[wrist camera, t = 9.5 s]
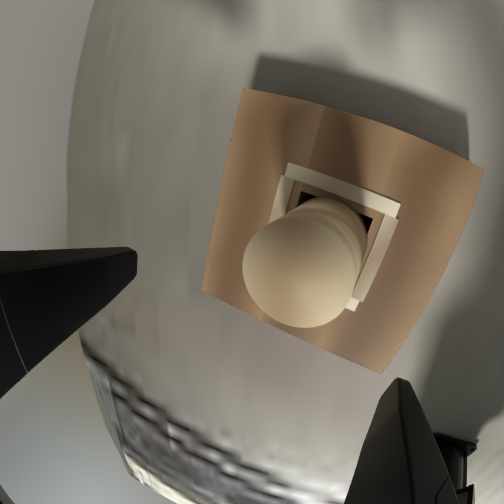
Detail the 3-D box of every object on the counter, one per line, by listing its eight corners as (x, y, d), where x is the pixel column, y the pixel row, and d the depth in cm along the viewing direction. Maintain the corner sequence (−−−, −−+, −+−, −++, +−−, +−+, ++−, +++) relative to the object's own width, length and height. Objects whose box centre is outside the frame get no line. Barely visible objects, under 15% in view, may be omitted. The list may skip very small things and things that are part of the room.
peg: (381, 206, 17) (374, 246, 10) (355, 271, 19) (328, 345, 12) (312, 179, 18) (255, 199, 11) (292, 244, 20) (231, 299, 13)
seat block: (470, 166, 13) (485, 169, 11) (385, 348, 20) (381, 375, 17) (264, 95, 18) (242, 87, 15) (222, 274, 24) (200, 290, 21)
